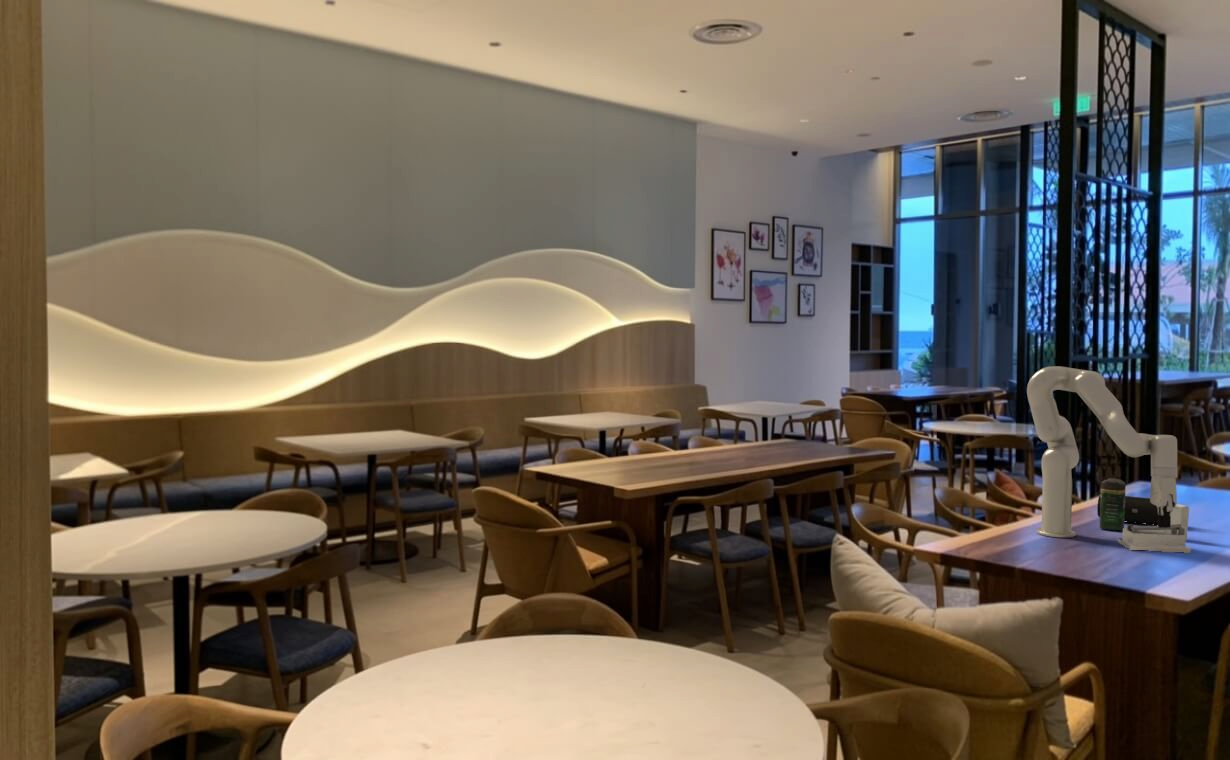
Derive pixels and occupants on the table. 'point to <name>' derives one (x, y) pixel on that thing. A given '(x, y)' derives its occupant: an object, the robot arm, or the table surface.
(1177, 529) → the strap
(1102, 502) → the coffee jar
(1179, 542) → the block
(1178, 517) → the skincare box
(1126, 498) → the portable speaker
